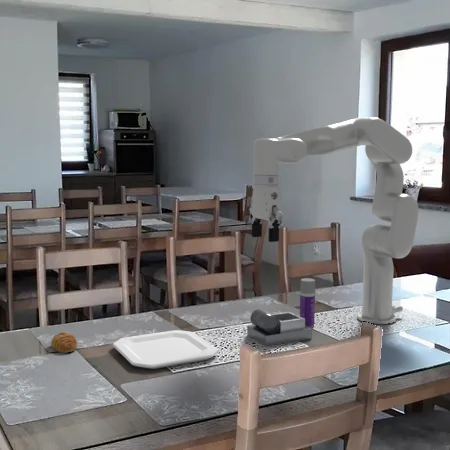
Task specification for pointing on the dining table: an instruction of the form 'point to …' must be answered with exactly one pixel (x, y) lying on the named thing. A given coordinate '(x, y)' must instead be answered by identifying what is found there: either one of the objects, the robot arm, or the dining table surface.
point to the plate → (164, 349)
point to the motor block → (277, 328)
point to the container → (307, 301)
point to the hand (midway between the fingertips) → (265, 239)
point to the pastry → (64, 342)
